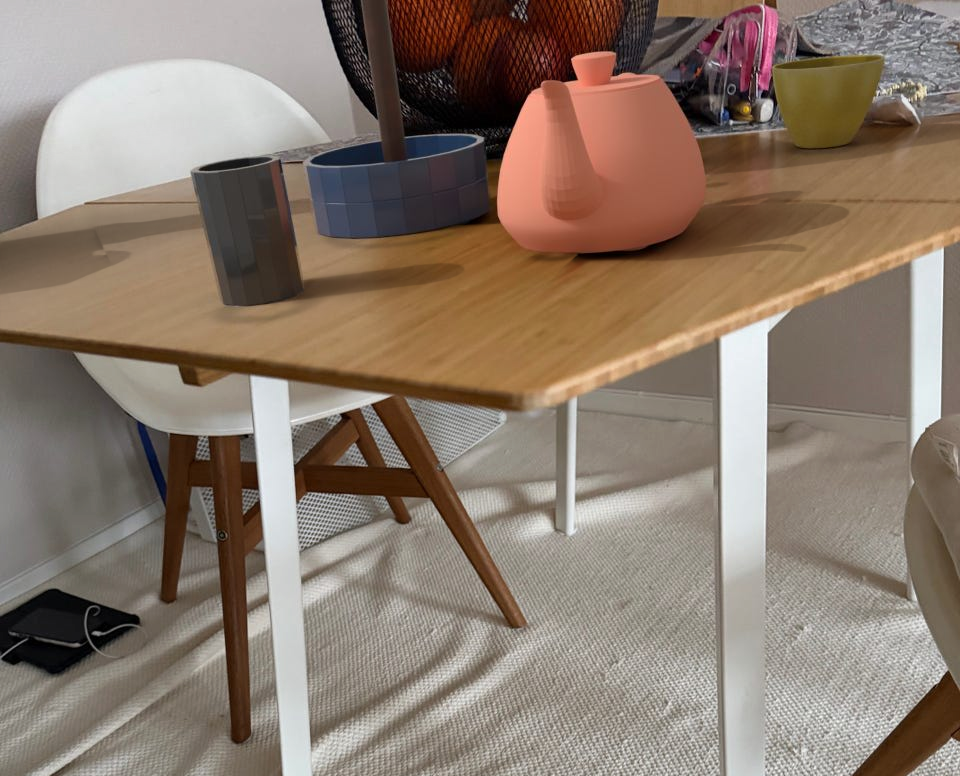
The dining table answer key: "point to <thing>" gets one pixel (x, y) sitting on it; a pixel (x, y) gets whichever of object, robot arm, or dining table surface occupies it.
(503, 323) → the dining table surface
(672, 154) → the teapot
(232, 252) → the utensil cup
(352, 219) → the bowl
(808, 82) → the flower pot
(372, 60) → the stick
